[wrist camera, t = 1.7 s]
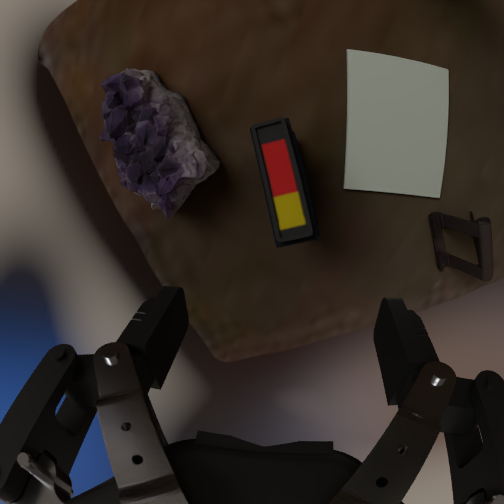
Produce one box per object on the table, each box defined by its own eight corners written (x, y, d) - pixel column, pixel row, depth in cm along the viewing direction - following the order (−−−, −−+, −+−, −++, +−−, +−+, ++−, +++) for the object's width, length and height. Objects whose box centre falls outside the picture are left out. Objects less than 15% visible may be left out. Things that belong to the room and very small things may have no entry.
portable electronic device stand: (426, 213, 36) (451, 238, 29) (468, 196, 34) (499, 217, 26) (435, 264, 39) (457, 295, 32) (475, 247, 37) (501, 274, 29)
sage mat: (346, 50, 28) (347, 49, 28) (446, 70, 26) (448, 69, 26) (343, 187, 36) (344, 188, 36) (437, 196, 35) (439, 198, 34)
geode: (99, 103, 35) (60, 98, 26) (164, 57, 33) (136, 37, 23) (162, 219, 41) (136, 242, 32) (233, 179, 39) (223, 192, 30)
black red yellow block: (294, 246, 39) (273, 248, 25) (272, 152, 40) (242, 107, 25) (322, 240, 38) (318, 238, 24) (299, 146, 39) (281, 96, 24)
